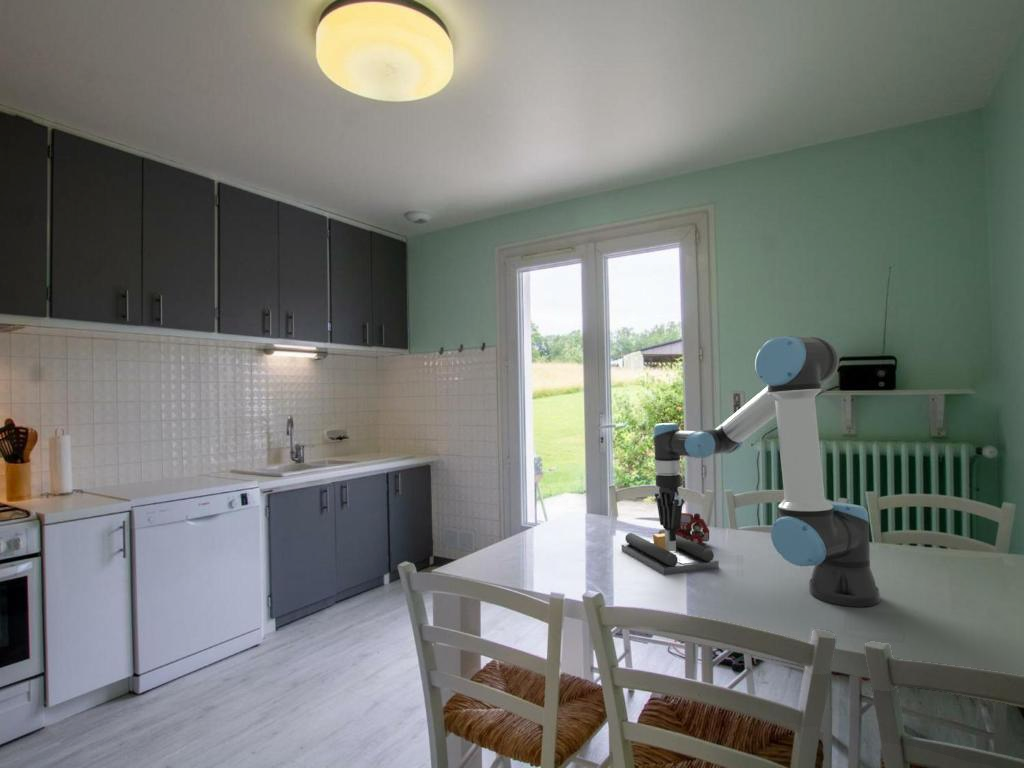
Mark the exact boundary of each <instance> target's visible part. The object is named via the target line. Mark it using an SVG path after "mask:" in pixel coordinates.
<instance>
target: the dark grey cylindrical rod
mask: <svg viewBox="0 0 1024 768" xmlns="http://www.w3.org/2000/svg"><path fill="white" fill-rule="evenodd" d="M664 533H665V529H659V531H658V532H657V534H664ZM676 547H677V548H679V549H681V550H683V551H685V552H687V553H690V554H692V555H694V556H696V557H698V558H700V559H702V560H704V561H711V560H712V559H715V558H714V556H715V554H714V552H713V550H712V549H709V548H708V547H705V546H703V545H699V544H696V543H694V542H692V541H690V540H687V539H685V538H683V537H680V536H678V535H676Z"/></svg>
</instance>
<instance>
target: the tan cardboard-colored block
mask: <svg viewBox="0 0 1024 768" xmlns="http://www.w3.org/2000/svg"><path fill="white" fill-rule="evenodd" d="M652 539H653V540H652V541H653V544H655V545H657V546H659V547H661V548H663V549H666V547H665V533H664V534H658V533H657V534H656V533H655V534H652Z"/></svg>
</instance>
